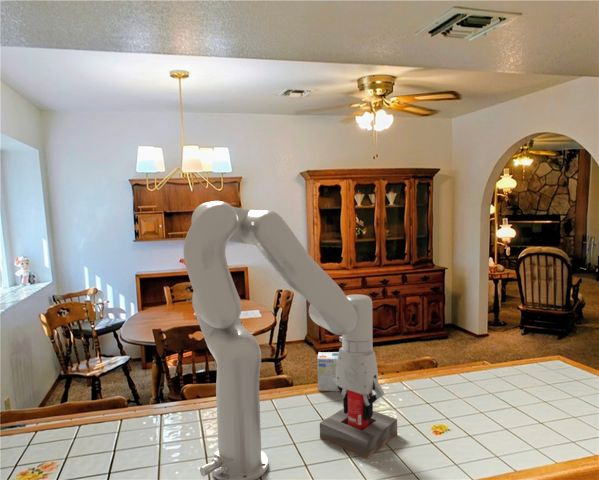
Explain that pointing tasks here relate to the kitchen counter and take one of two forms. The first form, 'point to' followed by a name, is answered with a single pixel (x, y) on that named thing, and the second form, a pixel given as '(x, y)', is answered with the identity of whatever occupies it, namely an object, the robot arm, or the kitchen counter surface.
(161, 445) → the kitchen counter surface
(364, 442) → the socket block
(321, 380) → the light bulb box
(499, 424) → the kitchen counter surface
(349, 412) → the beverage can
